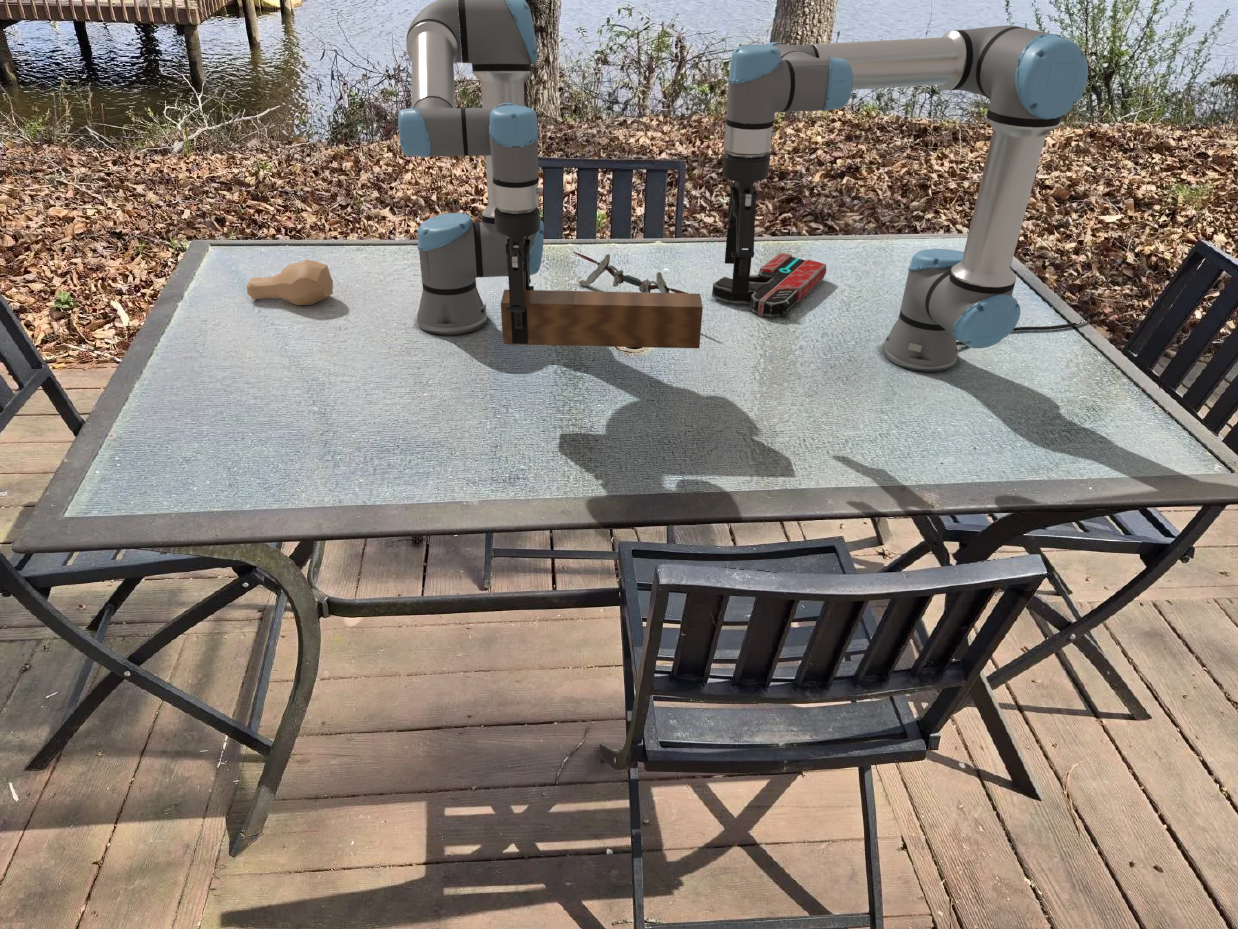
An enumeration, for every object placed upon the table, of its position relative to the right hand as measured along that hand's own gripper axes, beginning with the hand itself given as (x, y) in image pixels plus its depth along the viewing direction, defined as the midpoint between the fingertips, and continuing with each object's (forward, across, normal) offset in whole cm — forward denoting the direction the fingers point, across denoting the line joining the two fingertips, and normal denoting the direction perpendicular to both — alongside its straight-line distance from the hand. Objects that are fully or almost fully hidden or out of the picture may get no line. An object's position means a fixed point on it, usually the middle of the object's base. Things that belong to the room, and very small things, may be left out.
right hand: (735, 277), depth 153 cm
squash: (+25, +45, +97) cm, 110 cm away
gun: (+27, +59, -16) cm, 67 cm away
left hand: (+11, -1, +38) cm, 39 cm away
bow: (+26, +48, +18) cm, 58 cm away
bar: (+12, -1, +23) cm, 26 cm away
